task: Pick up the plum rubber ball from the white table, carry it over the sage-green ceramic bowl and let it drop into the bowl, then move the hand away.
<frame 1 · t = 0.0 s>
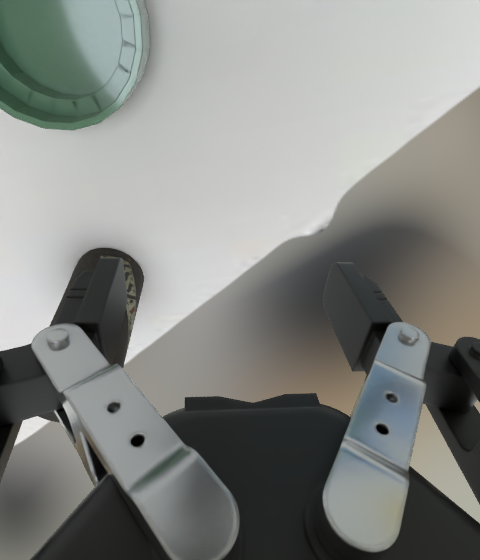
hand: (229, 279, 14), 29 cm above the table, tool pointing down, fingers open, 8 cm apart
bowl: (62, 23, 32), on the table
container: (110, 273, 48), on the table
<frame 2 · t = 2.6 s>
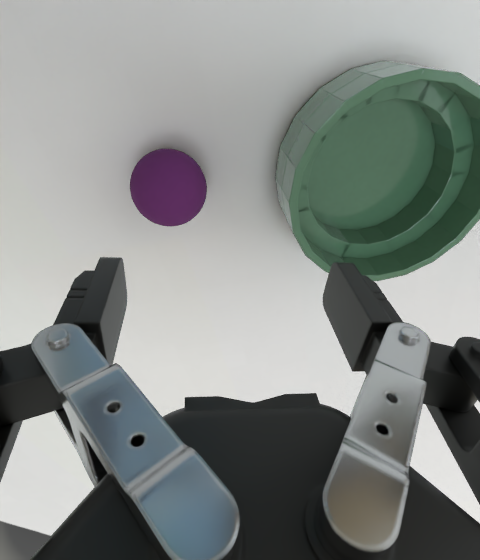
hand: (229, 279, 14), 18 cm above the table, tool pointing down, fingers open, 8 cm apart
ball: (169, 188, 27), point 3 cm above the table
bowl: (363, 166, 30), on the table
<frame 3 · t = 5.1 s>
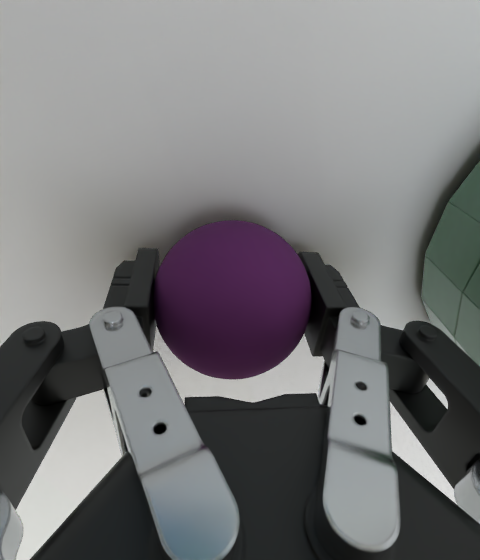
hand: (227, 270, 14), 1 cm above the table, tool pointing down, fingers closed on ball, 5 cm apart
ball: (232, 298, 13), point 3 cm above the table, touching gripper
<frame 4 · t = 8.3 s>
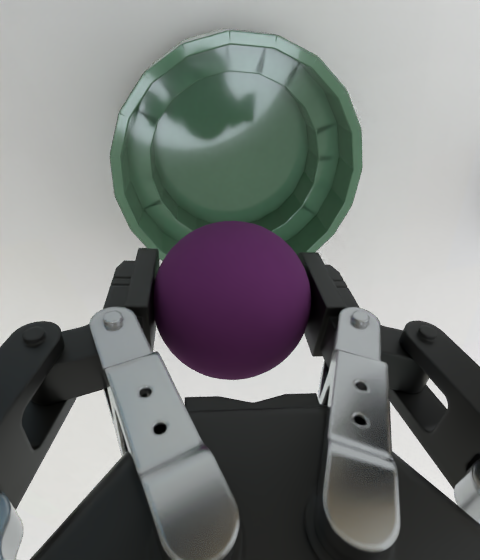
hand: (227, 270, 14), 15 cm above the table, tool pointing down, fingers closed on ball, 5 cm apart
ball: (232, 299, 13), point 17 cm above the table, touching gripper
bowl: (231, 153, 27), on the table
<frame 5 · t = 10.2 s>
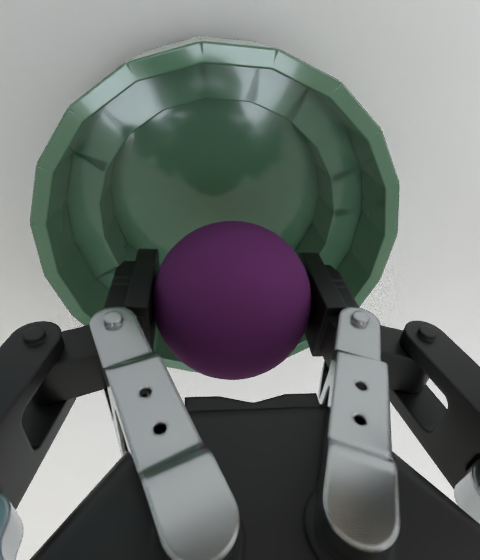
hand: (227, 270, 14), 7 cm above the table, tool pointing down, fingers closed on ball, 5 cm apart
ball: (232, 299, 13), point 9 cm above the table, touching gripper
bowl: (217, 199, 20), on the table
when the fingers open (4 cm above the table, at t = 11.7 s): ball drops 2 cm, resting on bowl.
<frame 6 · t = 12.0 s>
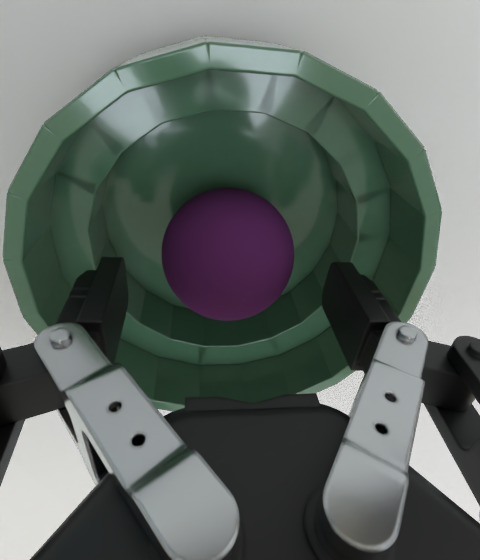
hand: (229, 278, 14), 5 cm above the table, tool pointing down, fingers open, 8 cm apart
ball: (228, 255, 15), point 3 cm above the table, touching bowl
bowl: (223, 219, 18), on the table
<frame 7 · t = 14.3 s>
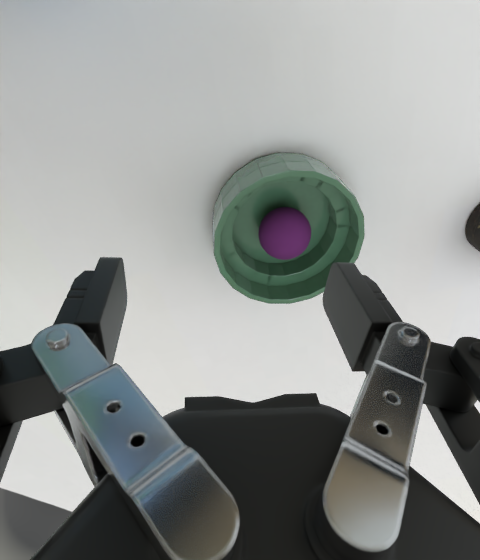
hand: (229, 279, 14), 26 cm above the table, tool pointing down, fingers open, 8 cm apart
ball: (284, 233, 38), point 3 cm above the table, touching bowl
bowl: (279, 219, 41), on the table
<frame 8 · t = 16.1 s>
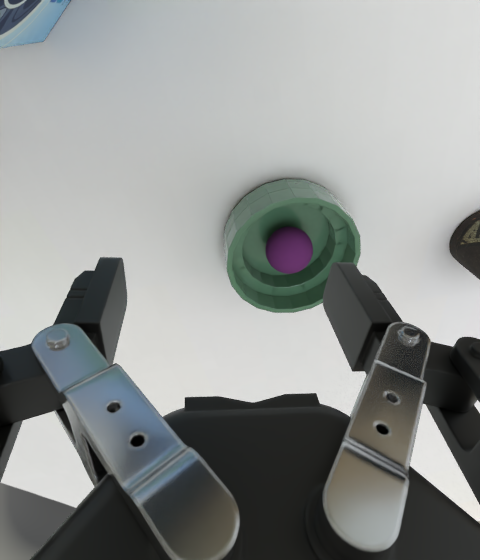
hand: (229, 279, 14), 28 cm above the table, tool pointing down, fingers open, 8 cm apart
ball: (289, 250, 43), point 3 cm above the table, touching bowl
bowl: (283, 236, 45), on the table
container: (478, 234, 49), on the table
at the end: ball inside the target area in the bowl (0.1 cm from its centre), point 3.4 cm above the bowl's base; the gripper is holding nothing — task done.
